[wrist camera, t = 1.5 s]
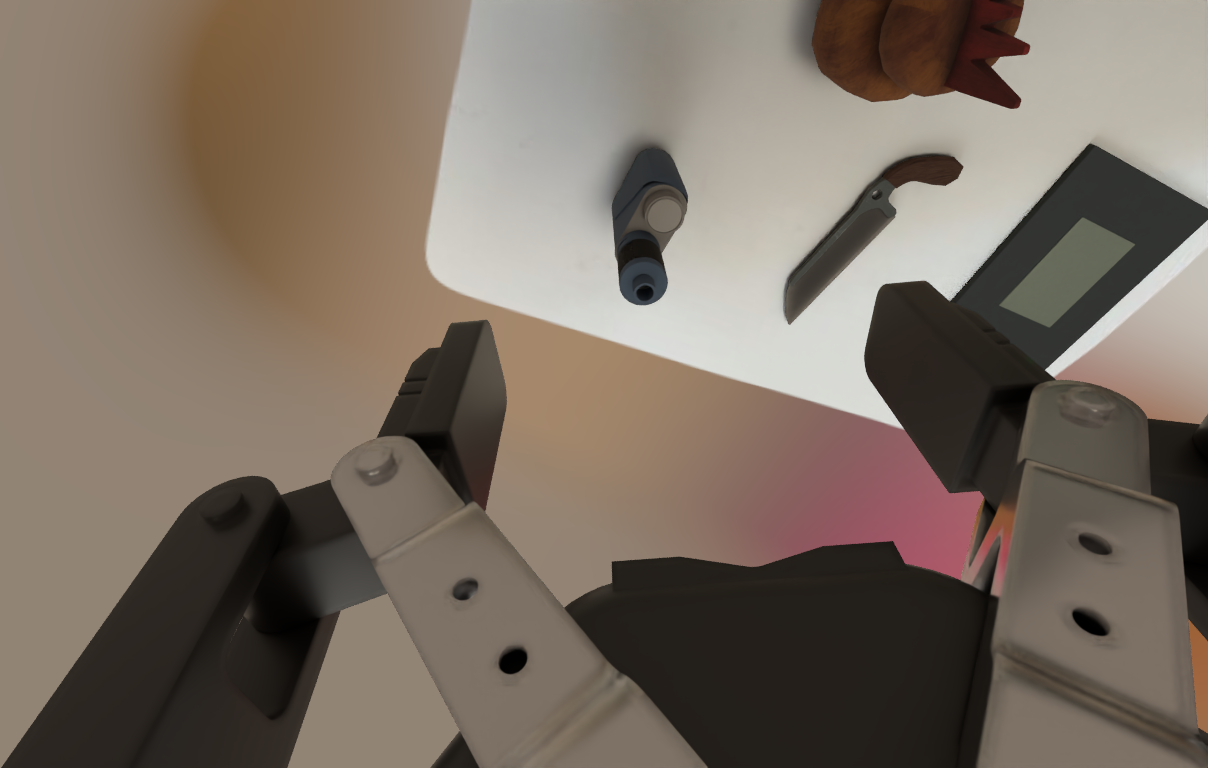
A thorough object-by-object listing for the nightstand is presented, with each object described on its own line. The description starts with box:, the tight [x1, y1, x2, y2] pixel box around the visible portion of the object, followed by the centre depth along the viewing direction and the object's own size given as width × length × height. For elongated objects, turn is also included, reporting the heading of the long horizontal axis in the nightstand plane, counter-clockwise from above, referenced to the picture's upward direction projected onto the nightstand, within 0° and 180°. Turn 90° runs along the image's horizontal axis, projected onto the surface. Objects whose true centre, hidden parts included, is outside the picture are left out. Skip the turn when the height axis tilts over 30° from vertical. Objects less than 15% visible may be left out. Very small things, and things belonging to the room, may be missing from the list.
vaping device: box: [612, 148, 688, 305], centre depth 30 cm, size 3×5×12 cm, turn 152°
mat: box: [951, 144, 1208, 370], centre depth 39 cm, size 14×11×1 cm
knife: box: [786, 156, 963, 325], centre depth 37 cm, size 14×4×1 cm, turn 147°
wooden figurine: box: [812, 0, 1030, 109], centre depth 23 cm, size 7×6×15 cm
